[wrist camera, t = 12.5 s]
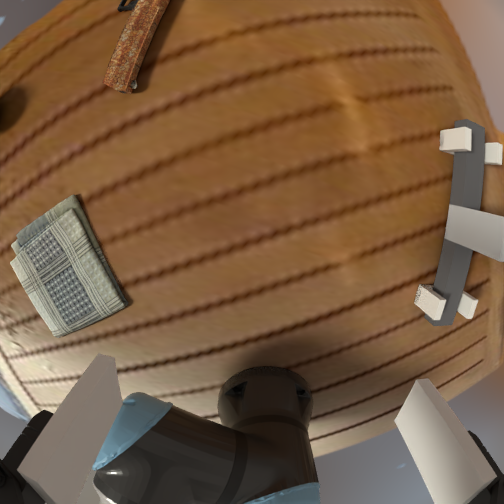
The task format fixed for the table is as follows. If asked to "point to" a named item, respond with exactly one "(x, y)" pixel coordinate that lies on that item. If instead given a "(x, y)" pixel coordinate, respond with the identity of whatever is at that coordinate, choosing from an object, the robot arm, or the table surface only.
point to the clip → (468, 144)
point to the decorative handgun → (133, 43)
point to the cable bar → (466, 225)
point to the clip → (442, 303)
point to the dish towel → (65, 270)
